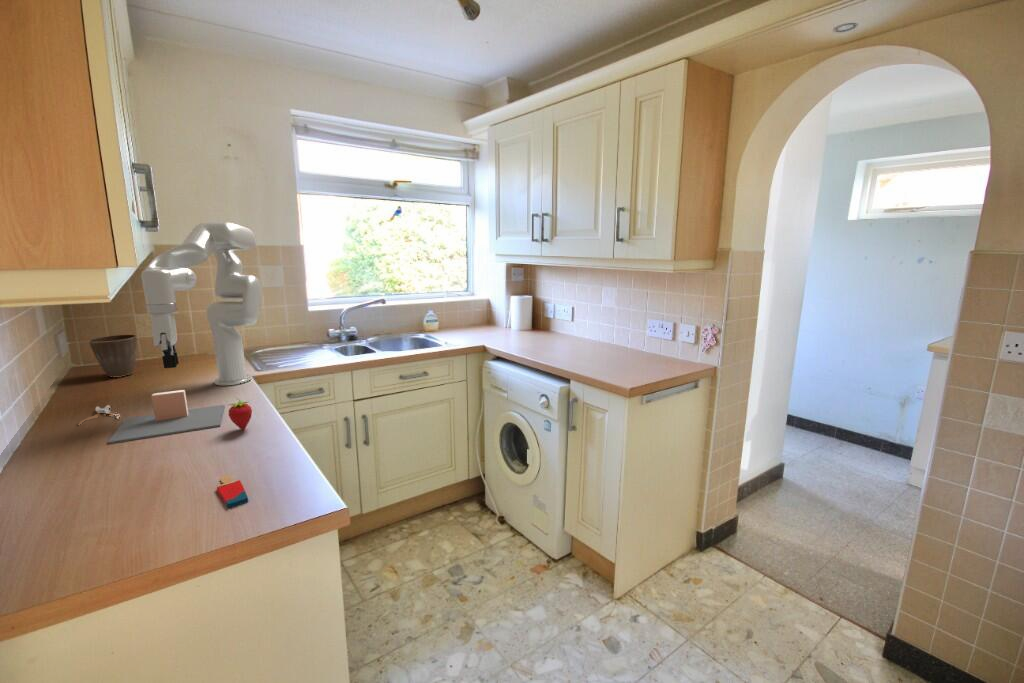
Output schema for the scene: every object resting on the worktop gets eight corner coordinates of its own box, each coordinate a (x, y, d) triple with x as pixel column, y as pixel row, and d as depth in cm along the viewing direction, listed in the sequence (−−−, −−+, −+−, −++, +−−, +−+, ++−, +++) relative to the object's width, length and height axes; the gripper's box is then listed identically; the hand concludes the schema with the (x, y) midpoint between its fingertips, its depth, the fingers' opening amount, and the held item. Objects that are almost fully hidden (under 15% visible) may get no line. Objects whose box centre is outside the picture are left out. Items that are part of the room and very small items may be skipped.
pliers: (76, 422, 138) (82, 408, 150) (77, 427, 138) (83, 413, 150) (119, 415, 143) (122, 402, 155) (120, 420, 144) (123, 407, 156)
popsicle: (235, 471, 108) (250, 497, 97) (236, 477, 109) (250, 503, 97) (212, 477, 105) (225, 504, 94) (213, 483, 106) (226, 511, 95)
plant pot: (95, 383, 181) (87, 343, 178) (97, 375, 193) (89, 337, 189) (143, 376, 191) (136, 338, 187) (142, 369, 202) (136, 333, 199)
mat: (126, 419, 143) (126, 418, 143) (224, 406, 155) (224, 404, 155) (108, 444, 126) (107, 442, 126) (220, 426, 138) (219, 424, 137)
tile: (157, 418, 143) (153, 393, 141) (188, 413, 146) (184, 389, 145) (155, 420, 141) (151, 395, 139) (187, 416, 144) (183, 391, 143)
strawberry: (231, 436, 130) (226, 402, 128) (230, 427, 137) (226, 395, 135) (254, 431, 133) (250, 399, 131) (253, 423, 140) (249, 391, 138)
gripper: (152, 306, 149) (161, 362, 153) (141, 313, 135) (151, 374, 139) (181, 305, 153) (189, 359, 156) (172, 311, 138) (181, 370, 142)
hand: (171, 365), depth 148 cm, fingers open, 3 cm apart
